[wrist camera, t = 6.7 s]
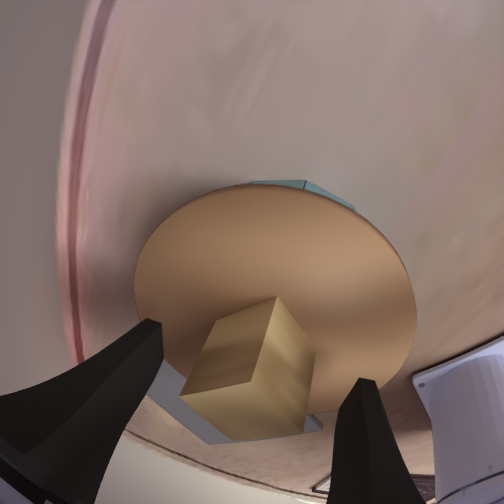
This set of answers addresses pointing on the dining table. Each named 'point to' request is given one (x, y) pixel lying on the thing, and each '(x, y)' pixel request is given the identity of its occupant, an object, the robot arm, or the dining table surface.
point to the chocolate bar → (421, 481)
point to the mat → (168, 398)
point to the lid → (274, 305)
